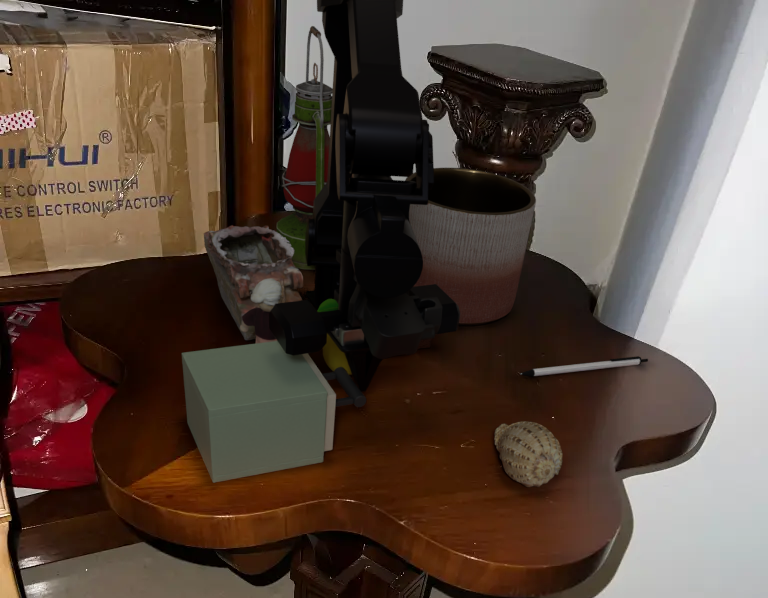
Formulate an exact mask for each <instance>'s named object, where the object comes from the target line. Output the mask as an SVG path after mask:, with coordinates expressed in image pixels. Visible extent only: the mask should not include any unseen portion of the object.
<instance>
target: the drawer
mask: <svg viewBox="0 0 768 598" xmlns="http://www.w3.org/2000/svg"><path fill="white" fill-rule="evenodd" d="M302 355H303V357H304V358H305V360H306V361H307V363H308V364H309V365H310V367H311V368H312V370H313V371H314V373H315V374H316V376H317V377H318V379H319V380H320V382H321V383H322V385H323V386H324V388H325V389H326V391H327V407H326V424H325V441H324V452H328V451H333V448H334V447H333V446H334V434H335V432H334V431H335V419H336V417H335V416H336V407H344V406H350V405H353V406H355V407H356V408H361V407H364V406H365V405H366V404H367V397H366V396H365V394H364V392H361V390H360V389H359V388H358V386H357V385H356V384H355V382H354V379H353V377H351V375H349V374H348V373H347V371H346V370H345V369H344V368H343V367H338V368H336V369H335V370H334V371H331V372H324V373H322V372H321V370H320V369H319V367H317V366H318V365H316V363H315V362H314V360H313V359H312V358H311V356H310V354H309V353H307V354H302ZM332 380H336V381H337V382H338V384H339V386H340V387H341V388H342V390H343V391H344V393H345V394H346V395H347V397H346V396H345V397H340V398H337V393H336V392H335V391H334V389H333V388H332V386H331V385H330V384H329V382H328V381H332Z"/></svg>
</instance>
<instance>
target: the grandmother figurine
mask: <svg viewBox="0 0 768 598" xmlns="http://www.w3.org/2000/svg"><path fill="white" fill-rule="evenodd" d="M281 291H282V288H281V286H280V283H279V282H278V281H276V280H275V279H273V278H270V279H264V280H262V281H261V282H259V283H258V284H257V285H256V287H255V288H254V290H253V293H252V294H251V300H252V302H254V303H258V305H259V307H260V308H253V309H251V310H249V311H248V312H247V313H245V314H244V315H243V316H242V324H241V325H240V330H241V331H242V332H244V333H245V332H247V331H248V330H249V327H250V326H255V334H256V339H255V343H254V344H257V343H265V342H273V341H277V339H276V338H275V336H274V335H273V333H272V332H271V330H270V329H269V313H270V311H271V310H272V308H273V307H274V305H275V304H277V303H281V298H280V295H282V294H281ZM240 330H239V331H240Z"/></svg>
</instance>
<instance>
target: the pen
mask: <svg viewBox="0 0 768 598" xmlns="http://www.w3.org/2000/svg"><path fill="white" fill-rule="evenodd" d="M648 361H649V359H648V358H642V357H641V356H639V355H638V356H637V355H636V356H627V357H618V358H610V359H609V360H605V361H604V360H603V361H595V362H585V363H577V364H576V363H575V364H568V365H559V366H558V365H557V366H549V367H539V368H538V367H537V368H532V369H529V370H525V371H523V372H521V373H520V375H521V376H527V377H538V376H548V375H549V376H550V375H556V374H566V373H574V372H583V371H593V370H600V369H601V370H602V369H610V368H612V369H613V368H621V367H629V366H638V365H639V366H640V365H641V364H642V363H647V362H648Z"/></svg>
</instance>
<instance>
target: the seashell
mask: <svg viewBox="0 0 768 598" xmlns="http://www.w3.org/2000/svg"><path fill="white" fill-rule="evenodd" d="M494 445H495V447H496V450H497V451H498V453H499V459H500V460H501V463H502V466H503V470H504V471H505V473H506V474H507V476H508V477H509V478H510V479H511V480H513V481H516V482H517V483H519V484H521V485H523V486H524V487H527V488H531V487H535V488H540V487H541V486H543V485H545V484H548V483H549V482H550V480H552V479H553V478H554V477H555V475H556V476H558V475H559V473H560V471H561V468H562V466H563V451H562V447H561V443H560V442H559V440H558V439H557V438H556V437H555V436H554V434H553V433H552V431H551V430H550V429H549V428H547V427H546V426H545V425H542V424H540V423H537V422H535V421H517V422H514V423H511V424H507V423H501V424H500V425H499V426H498V427H496V429H495V430H494Z"/></svg>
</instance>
